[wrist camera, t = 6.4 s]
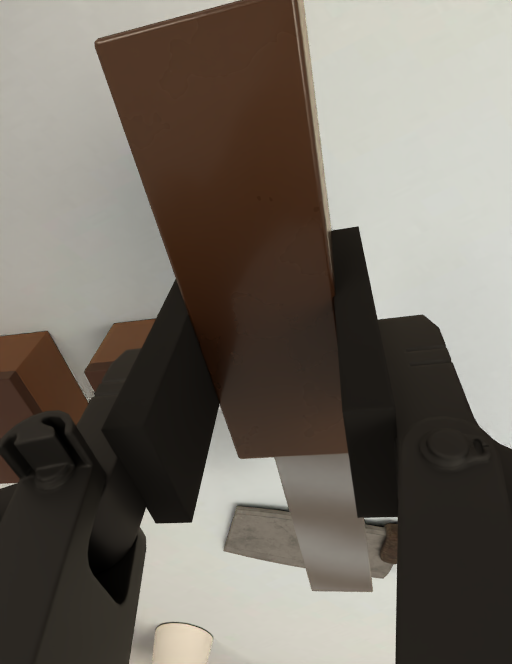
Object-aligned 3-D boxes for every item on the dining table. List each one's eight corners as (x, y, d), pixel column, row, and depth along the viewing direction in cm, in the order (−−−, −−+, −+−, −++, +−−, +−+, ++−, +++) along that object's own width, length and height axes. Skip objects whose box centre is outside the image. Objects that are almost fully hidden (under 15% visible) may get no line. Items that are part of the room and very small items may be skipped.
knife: (157, 30, 10) (90, 40, 7) (302, -9, 9) (295, -15, 6) (309, 579, 23) (309, 661, 20) (373, 579, 23) (382, 664, 20)
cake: (-49, 341, 33) (-100, 388, 29) (48, 330, 31) (8, 378, 27) (18, 434, 38) (-17, 484, 34) (103, 428, 37) (77, 480, 33)
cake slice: (113, 323, 30) (83, 372, 26) (169, 316, 30) (146, 366, 26) (160, 425, 36) (141, 478, 32) (208, 422, 35) (194, 476, 31)
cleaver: (558, 540, 39) (568, 564, 38) (514, 591, 45) (522, 614, 43) (225, 496, 41) (220, 517, 39) (224, 551, 47) (220, 572, 45)
